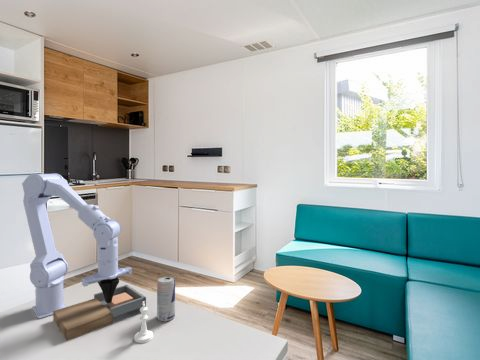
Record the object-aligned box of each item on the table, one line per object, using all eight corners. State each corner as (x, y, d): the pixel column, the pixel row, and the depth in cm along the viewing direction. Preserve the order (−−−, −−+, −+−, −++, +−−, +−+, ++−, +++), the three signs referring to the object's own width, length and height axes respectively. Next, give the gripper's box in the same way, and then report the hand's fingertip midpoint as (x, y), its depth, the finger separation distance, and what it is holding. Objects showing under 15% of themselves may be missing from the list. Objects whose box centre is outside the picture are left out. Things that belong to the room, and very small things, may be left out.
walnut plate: (53, 320, 85) (53, 311, 85) (95, 307, 94) (95, 298, 94) (67, 340, 75) (67, 329, 75) (113, 323, 84) (113, 313, 84)
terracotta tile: (107, 303, 92) (107, 297, 92) (125, 298, 97) (125, 292, 97) (114, 310, 88) (114, 304, 88) (133, 304, 92) (133, 298, 92)
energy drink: (177, 313, 90) (177, 276, 90) (171, 322, 85) (171, 283, 85) (161, 312, 91) (161, 275, 90) (154, 321, 86) (154, 282, 85)
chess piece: (135, 345, 74) (135, 307, 74) (133, 335, 78) (132, 299, 78) (154, 340, 76) (154, 303, 76) (151, 330, 81) (151, 296, 80)
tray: (94, 307, 93) (94, 294, 93) (126, 296, 101) (126, 284, 101) (111, 324, 84) (111, 309, 84) (146, 310, 92) (146, 297, 92)
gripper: (87, 268, 81) (88, 314, 82) (136, 257, 92) (136, 298, 92) (79, 262, 86) (80, 306, 87) (126, 252, 97) (126, 291, 97)
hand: (108, 301), depth 90 cm, fingers closed
